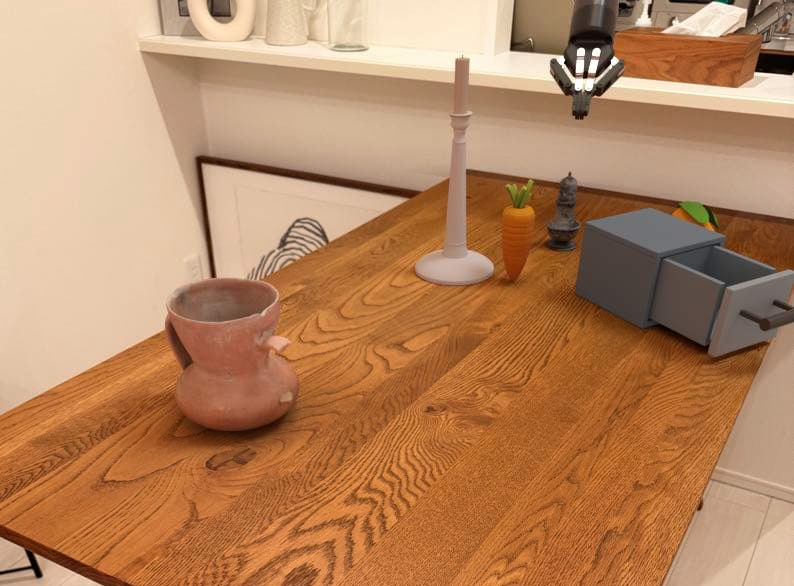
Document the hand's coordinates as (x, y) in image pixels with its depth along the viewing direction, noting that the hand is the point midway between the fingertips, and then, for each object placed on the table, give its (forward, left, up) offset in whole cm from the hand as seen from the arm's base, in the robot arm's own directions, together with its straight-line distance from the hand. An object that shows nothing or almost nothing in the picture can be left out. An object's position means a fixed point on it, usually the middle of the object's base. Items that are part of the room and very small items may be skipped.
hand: (579, 116), depth 128 cm
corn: (-19, +16, -18) cm, 30 cm away
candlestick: (+21, +21, -18) cm, 35 cm away
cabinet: (-6, +34, -18) cm, 38 cm away
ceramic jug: (+49, +65, -18) cm, 83 cm away
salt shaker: (+2, +10, -18) cm, 21 cm away
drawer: (-13, +47, -17) cm, 52 cm away
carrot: (+12, +26, -18) cm, 34 cm away
